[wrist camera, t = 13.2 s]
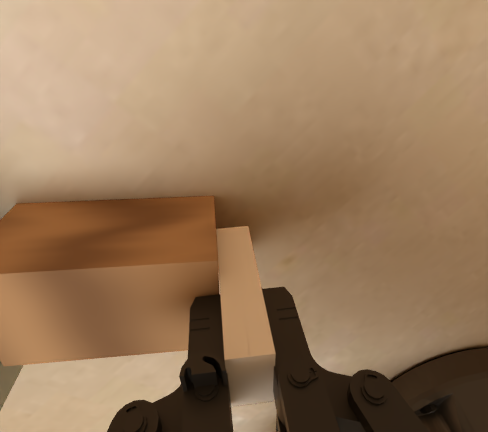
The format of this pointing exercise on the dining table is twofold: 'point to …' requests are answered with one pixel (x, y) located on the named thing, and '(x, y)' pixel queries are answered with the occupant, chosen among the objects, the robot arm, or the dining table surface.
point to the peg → (103, 277)
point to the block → (7, 380)
